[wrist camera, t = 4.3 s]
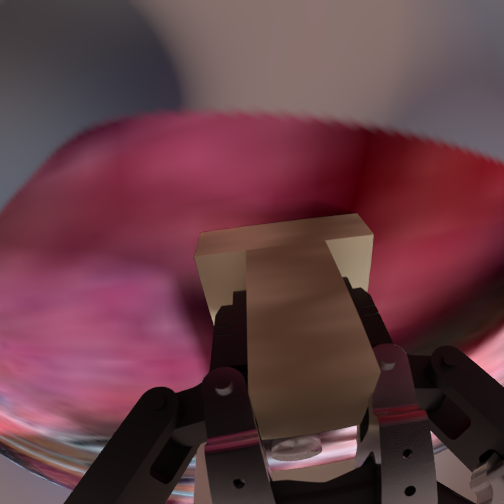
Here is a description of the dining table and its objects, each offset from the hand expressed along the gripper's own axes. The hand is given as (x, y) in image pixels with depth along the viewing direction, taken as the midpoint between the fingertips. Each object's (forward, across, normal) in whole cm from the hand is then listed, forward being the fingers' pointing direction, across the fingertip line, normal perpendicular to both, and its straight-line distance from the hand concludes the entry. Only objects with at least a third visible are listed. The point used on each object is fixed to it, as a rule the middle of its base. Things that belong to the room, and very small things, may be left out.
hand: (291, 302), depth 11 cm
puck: (+3, 0, +22) cm, 22 cm away
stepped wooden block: (+3, 0, +6) cm, 7 cm away
